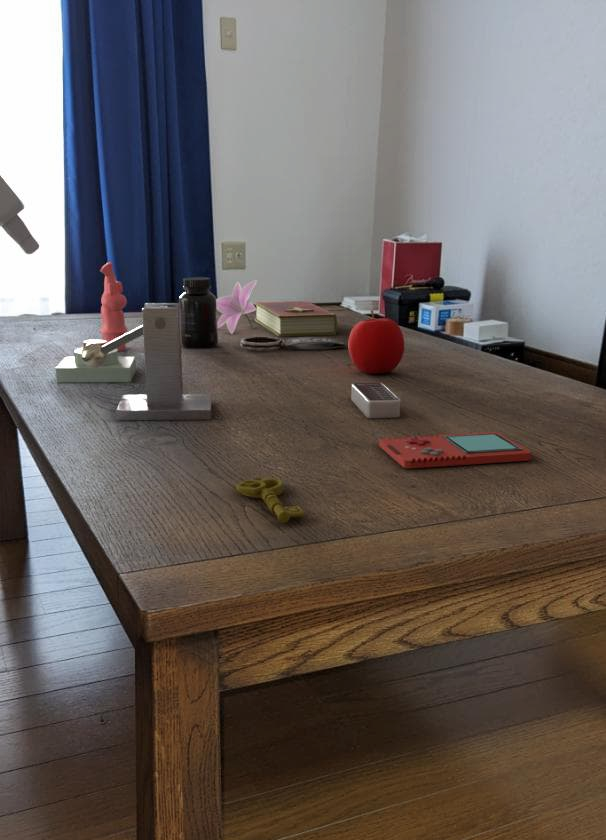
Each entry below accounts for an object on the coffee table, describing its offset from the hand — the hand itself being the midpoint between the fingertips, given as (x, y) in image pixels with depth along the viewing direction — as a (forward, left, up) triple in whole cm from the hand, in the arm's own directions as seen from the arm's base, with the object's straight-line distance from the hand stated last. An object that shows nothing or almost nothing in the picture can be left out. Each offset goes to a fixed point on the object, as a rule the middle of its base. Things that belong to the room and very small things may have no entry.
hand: (34, 251), depth 115 cm
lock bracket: (+16, -4, -20) cm, 26 cm away
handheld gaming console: (+50, -25, -20) cm, 60 cm away
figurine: (+4, +42, -20) cm, 47 cm away
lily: (+26, +64, -20) cm, 72 cm away
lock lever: (+12, -4, -12) cm, 17 cm away
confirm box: (+4, +19, -20) cm, 28 cm away
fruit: (+48, +21, -20) cm, 56 cm away
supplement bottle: (+19, +46, -20) cm, 53 cm away
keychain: (+36, +43, -20) cm, 59 cm away
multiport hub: (+44, -3, -20) cm, 49 cm away
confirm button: (+4, +19, -16) cm, 25 cm away
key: (+28, -41, -20) cm, 54 cm away
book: (+38, +67, -20) cm, 79 cm away
